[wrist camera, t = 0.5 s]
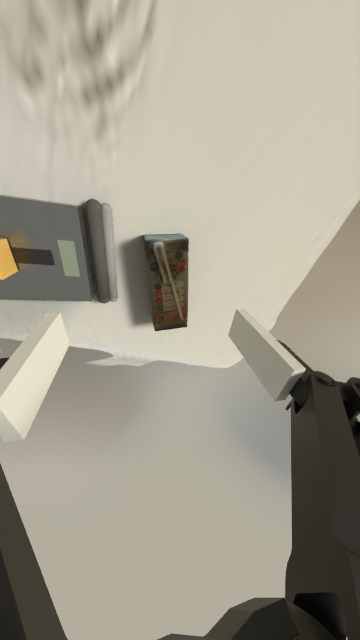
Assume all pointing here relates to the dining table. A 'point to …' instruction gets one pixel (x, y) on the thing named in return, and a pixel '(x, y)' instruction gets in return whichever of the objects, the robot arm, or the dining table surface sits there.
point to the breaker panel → (45, 250)
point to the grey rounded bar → (102, 249)
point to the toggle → (6, 260)
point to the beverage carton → (167, 279)
